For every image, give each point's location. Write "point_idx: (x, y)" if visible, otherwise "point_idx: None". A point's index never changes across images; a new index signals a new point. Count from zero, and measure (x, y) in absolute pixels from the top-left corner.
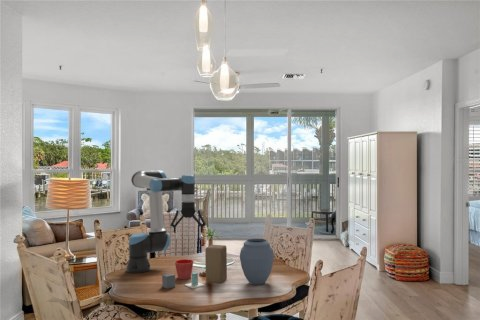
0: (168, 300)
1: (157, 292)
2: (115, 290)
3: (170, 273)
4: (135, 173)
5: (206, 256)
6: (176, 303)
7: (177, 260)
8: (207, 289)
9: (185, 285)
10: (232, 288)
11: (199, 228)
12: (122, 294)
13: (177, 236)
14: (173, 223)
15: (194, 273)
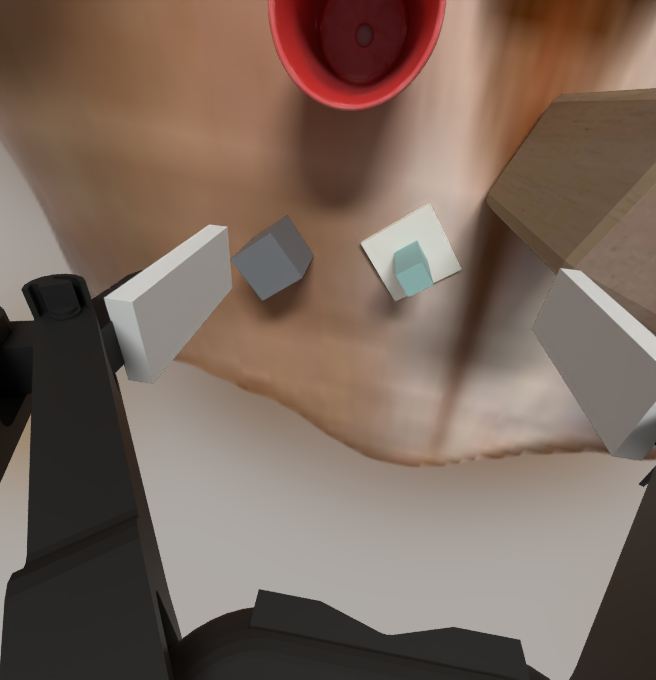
0: (301, 403)
1: (247, 317)
2: (65, 254)
3: (272, 239)
4: None
5: (540, 258)
6: (329, 431)
7: None
8: (460, 323)
9: (363, 247)
10: None
11: (602, 435)
12: None
13: (219, 241)
14: (21, 430)
15: (412, 288)
